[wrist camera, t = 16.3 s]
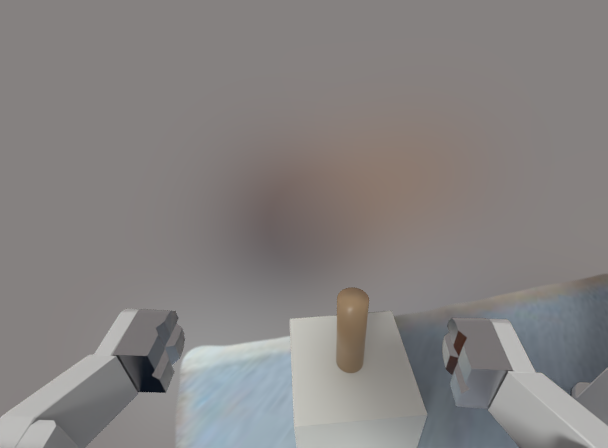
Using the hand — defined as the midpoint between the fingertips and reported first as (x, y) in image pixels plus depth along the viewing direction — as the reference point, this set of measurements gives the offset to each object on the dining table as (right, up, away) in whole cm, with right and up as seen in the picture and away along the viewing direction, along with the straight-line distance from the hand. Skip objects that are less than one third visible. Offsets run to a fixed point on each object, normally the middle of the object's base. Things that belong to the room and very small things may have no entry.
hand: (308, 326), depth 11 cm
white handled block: (+5, -21, +35) cm, 42 cm away
